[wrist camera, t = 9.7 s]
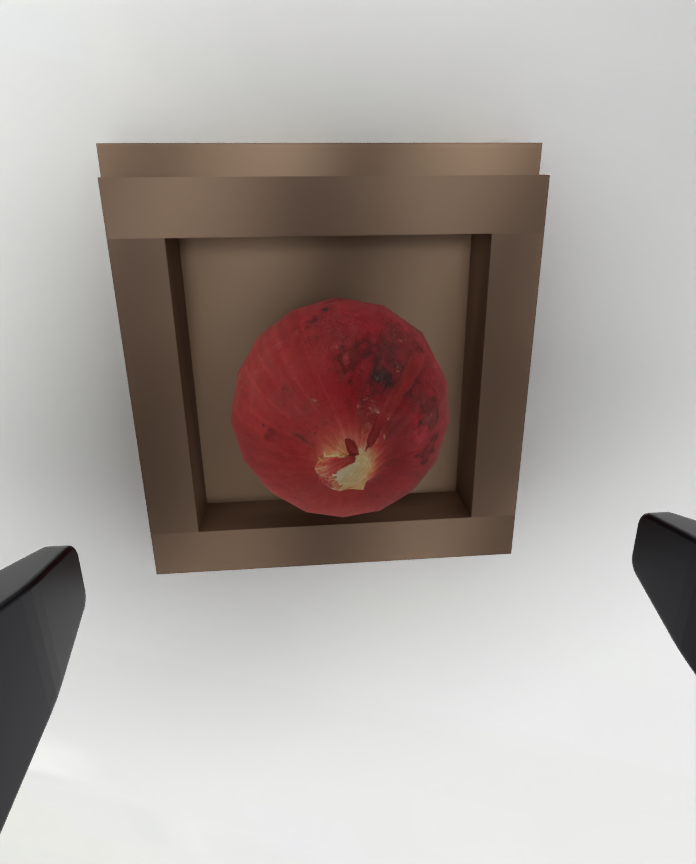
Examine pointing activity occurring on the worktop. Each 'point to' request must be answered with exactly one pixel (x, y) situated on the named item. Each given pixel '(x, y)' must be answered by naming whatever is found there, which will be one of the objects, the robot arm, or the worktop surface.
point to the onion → (340, 407)
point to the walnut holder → (311, 283)
